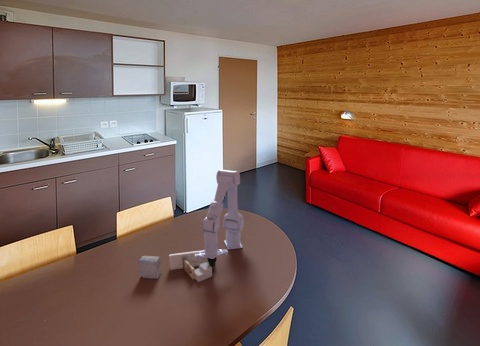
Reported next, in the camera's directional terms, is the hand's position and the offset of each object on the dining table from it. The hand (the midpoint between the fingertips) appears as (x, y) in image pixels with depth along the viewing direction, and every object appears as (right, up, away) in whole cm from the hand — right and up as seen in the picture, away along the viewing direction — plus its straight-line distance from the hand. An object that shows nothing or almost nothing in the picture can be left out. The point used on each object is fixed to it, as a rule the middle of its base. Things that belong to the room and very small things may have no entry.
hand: (211, 270), depth 138 cm
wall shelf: (-9, +1, +6) cm, 11 cm away
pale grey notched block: (-4, -2, -2) cm, 5 cm away
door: (-10, -1, -1) cm, 10 cm away
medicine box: (-27, -2, -2) cm, 27 cm away
